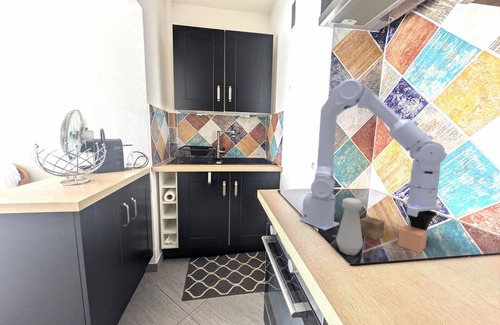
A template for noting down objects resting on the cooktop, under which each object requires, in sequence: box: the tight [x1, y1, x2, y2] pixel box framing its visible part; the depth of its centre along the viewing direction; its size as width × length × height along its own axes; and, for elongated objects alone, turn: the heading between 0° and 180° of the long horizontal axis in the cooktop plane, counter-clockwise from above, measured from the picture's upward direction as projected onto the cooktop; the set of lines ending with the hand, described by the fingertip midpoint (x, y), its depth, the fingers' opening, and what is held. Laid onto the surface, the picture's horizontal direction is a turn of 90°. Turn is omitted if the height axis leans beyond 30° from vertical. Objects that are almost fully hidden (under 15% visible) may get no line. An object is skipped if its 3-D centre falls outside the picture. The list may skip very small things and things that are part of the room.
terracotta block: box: [397, 224, 428, 254], centre depth 53 cm, size 4×4×4 cm
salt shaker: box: [335, 197, 364, 257], centre depth 50 cm, size 6×6×13 cm
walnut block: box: [360, 216, 386, 241], centre depth 59 cm, size 4×4×4 cm
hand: (418, 236), depth 56 cm, fingers closed
